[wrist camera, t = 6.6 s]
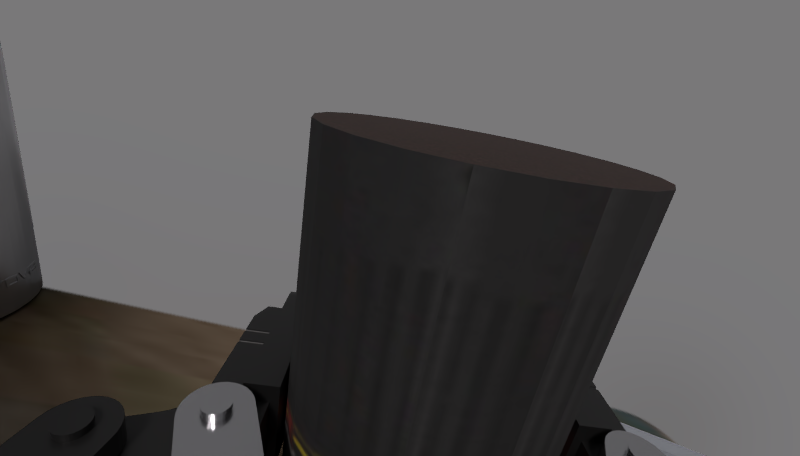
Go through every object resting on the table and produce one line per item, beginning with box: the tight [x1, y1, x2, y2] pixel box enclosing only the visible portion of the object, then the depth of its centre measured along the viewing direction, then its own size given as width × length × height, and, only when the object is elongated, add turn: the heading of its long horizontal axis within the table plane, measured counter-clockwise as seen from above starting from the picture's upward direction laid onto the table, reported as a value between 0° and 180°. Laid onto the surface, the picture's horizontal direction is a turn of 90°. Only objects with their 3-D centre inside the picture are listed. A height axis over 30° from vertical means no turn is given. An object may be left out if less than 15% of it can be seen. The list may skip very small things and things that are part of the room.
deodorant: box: [282, 112, 676, 456], centre depth 9 cm, size 6×6×15 cm
